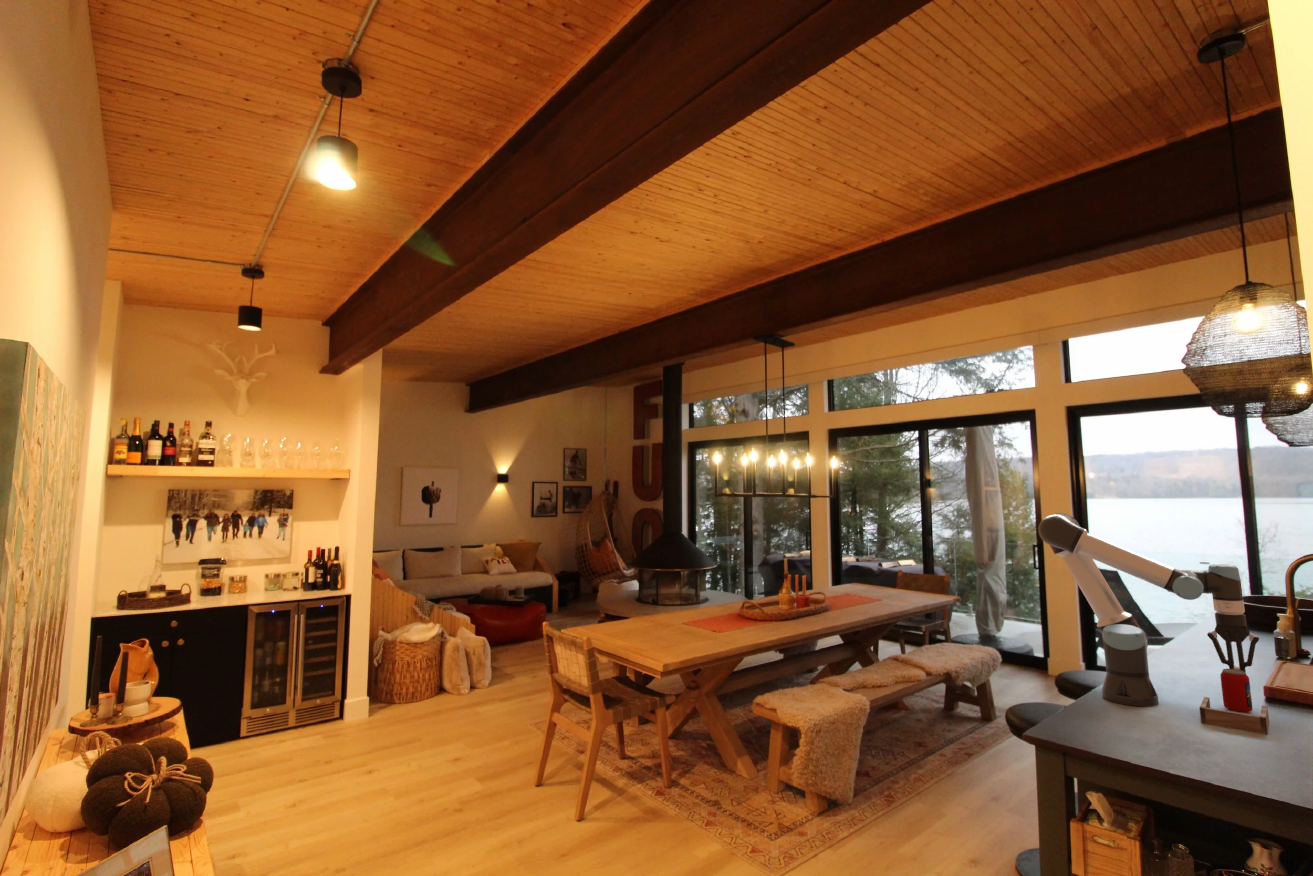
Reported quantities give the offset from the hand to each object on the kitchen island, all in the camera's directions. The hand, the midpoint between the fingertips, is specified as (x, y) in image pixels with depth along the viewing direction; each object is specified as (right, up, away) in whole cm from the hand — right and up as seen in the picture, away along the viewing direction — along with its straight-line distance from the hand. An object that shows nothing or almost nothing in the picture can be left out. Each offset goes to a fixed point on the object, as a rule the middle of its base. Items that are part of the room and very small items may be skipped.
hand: (1239, 687), depth 207 cm
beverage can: (-7, -5, -7) cm, 11 cm away
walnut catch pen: (-16, -4, -16) cm, 23 cm away
